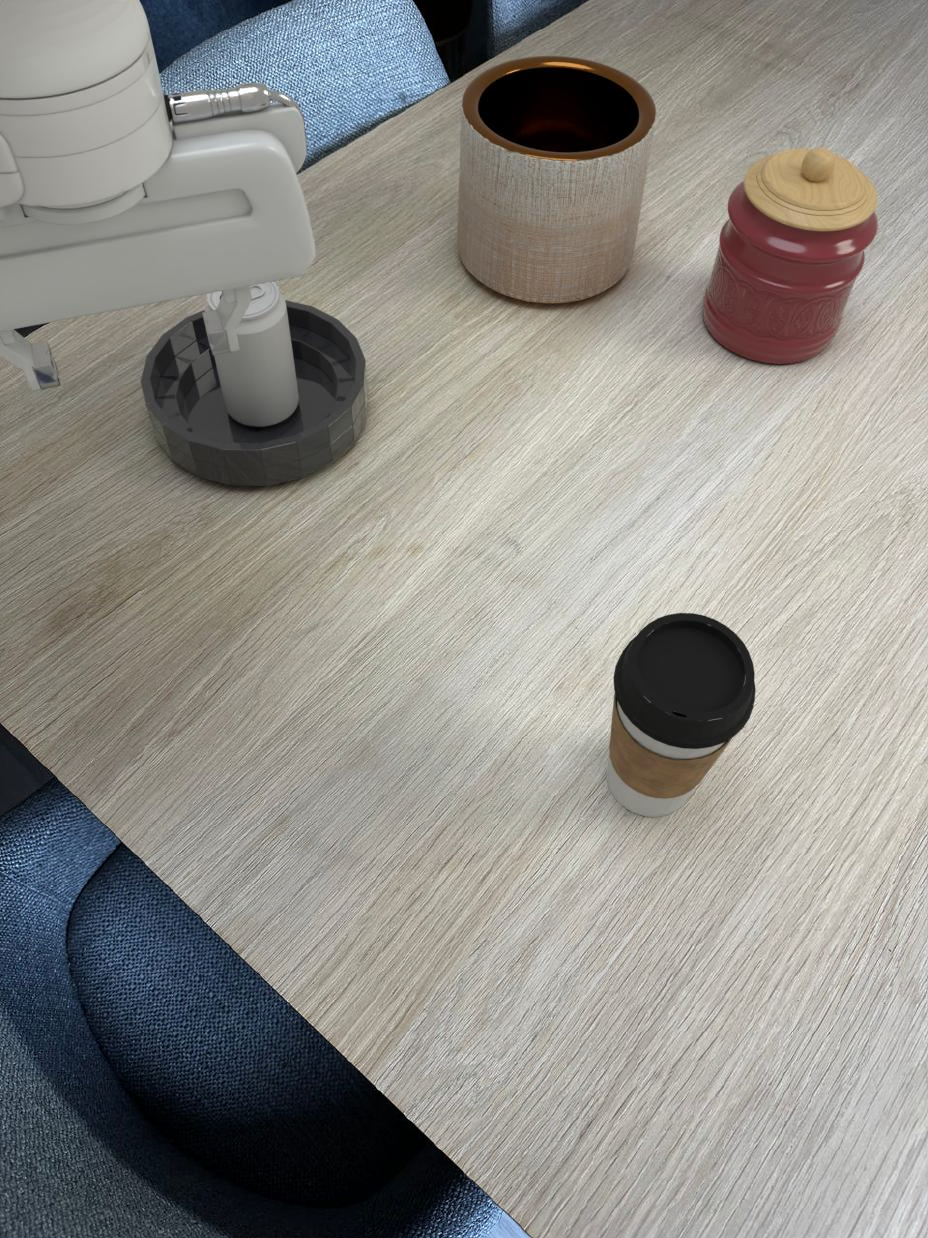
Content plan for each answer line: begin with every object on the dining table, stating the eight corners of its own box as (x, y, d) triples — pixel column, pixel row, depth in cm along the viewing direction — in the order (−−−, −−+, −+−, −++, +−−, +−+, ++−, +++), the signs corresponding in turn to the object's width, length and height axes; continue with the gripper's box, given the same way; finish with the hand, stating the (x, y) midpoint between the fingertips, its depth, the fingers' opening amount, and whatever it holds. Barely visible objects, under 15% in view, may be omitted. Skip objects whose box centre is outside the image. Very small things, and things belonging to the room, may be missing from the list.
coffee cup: (574, 812, 70) (603, 701, 58) (605, 710, 75) (638, 587, 63) (696, 851, 69) (752, 746, 57) (719, 745, 74) (776, 626, 61)
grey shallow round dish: (174, 513, 85) (160, 471, 81) (140, 365, 95) (126, 321, 90) (393, 464, 88) (391, 421, 84) (338, 326, 98) (334, 282, 94)
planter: (661, 241, 107) (692, 91, 94) (575, 335, 98) (597, 184, 85) (515, 183, 112) (526, 33, 99) (422, 267, 104) (420, 115, 91)
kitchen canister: (714, 267, 105) (759, 95, 90) (843, 297, 103) (910, 125, 88) (686, 348, 98) (730, 175, 83) (824, 381, 95) (894, 210, 81)
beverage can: (216, 395, 91) (189, 281, 82) (284, 373, 93) (266, 259, 83) (241, 442, 88) (217, 329, 78) (311, 418, 90) (296, 305, 80)
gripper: (284, 42, 48) (312, 291, 59) (-194, 107, 44) (-65, 362, 55) (316, 114, 44) (340, 363, 56) (-198, 192, 40) (-59, 444, 52)
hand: (136, 363), depth 55 cm, fingers open, 8 cm apart
